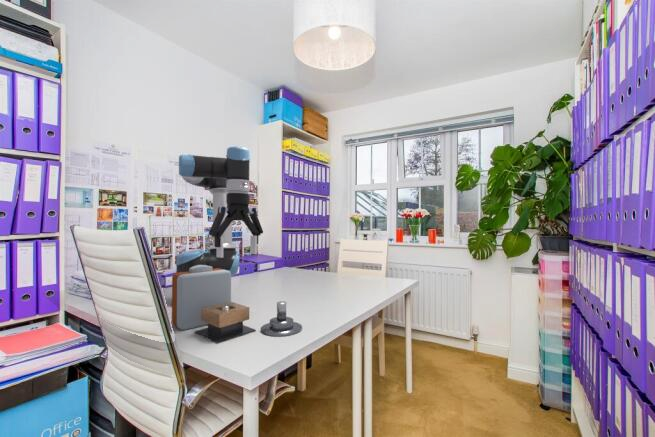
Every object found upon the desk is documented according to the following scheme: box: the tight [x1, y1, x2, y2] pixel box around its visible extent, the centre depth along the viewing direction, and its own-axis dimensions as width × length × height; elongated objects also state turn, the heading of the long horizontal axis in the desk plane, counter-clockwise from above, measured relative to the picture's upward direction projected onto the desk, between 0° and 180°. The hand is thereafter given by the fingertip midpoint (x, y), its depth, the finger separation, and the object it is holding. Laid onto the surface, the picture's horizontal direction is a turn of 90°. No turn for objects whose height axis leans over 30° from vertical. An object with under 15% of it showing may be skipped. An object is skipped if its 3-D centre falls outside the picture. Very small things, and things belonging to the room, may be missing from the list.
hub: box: [260, 300, 303, 338], centre depth 107 cm, size 14×14×9 cm
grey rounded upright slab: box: [171, 265, 232, 331], centre depth 113 cm, size 18×9×21 cm, turn 134°
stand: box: [194, 305, 257, 344], centre depth 104 cm, size 14×14×8 cm
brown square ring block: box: [201, 301, 250, 328], centre depth 104 cm, size 11×11×4 cm
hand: (237, 255), depth 106 cm, fingers open, 13 cm apart
